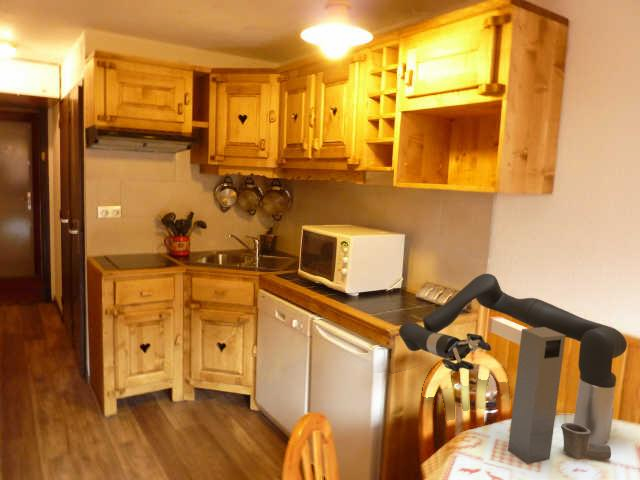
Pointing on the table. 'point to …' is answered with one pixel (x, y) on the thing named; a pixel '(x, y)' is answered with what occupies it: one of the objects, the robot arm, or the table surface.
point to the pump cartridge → (505, 329)
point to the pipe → (582, 443)
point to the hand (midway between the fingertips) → (481, 357)
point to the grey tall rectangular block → (536, 394)
